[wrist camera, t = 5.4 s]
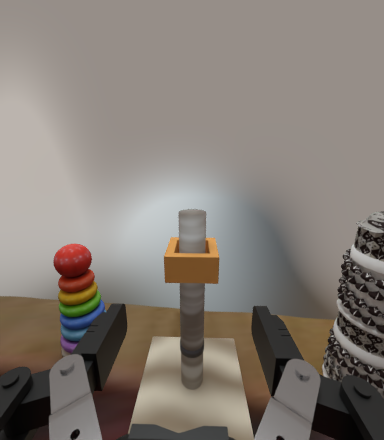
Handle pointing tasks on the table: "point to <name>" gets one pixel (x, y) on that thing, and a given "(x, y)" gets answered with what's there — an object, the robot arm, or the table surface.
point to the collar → (191, 264)
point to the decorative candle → (360, 310)
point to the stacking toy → (76, 295)
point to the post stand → (193, 363)
